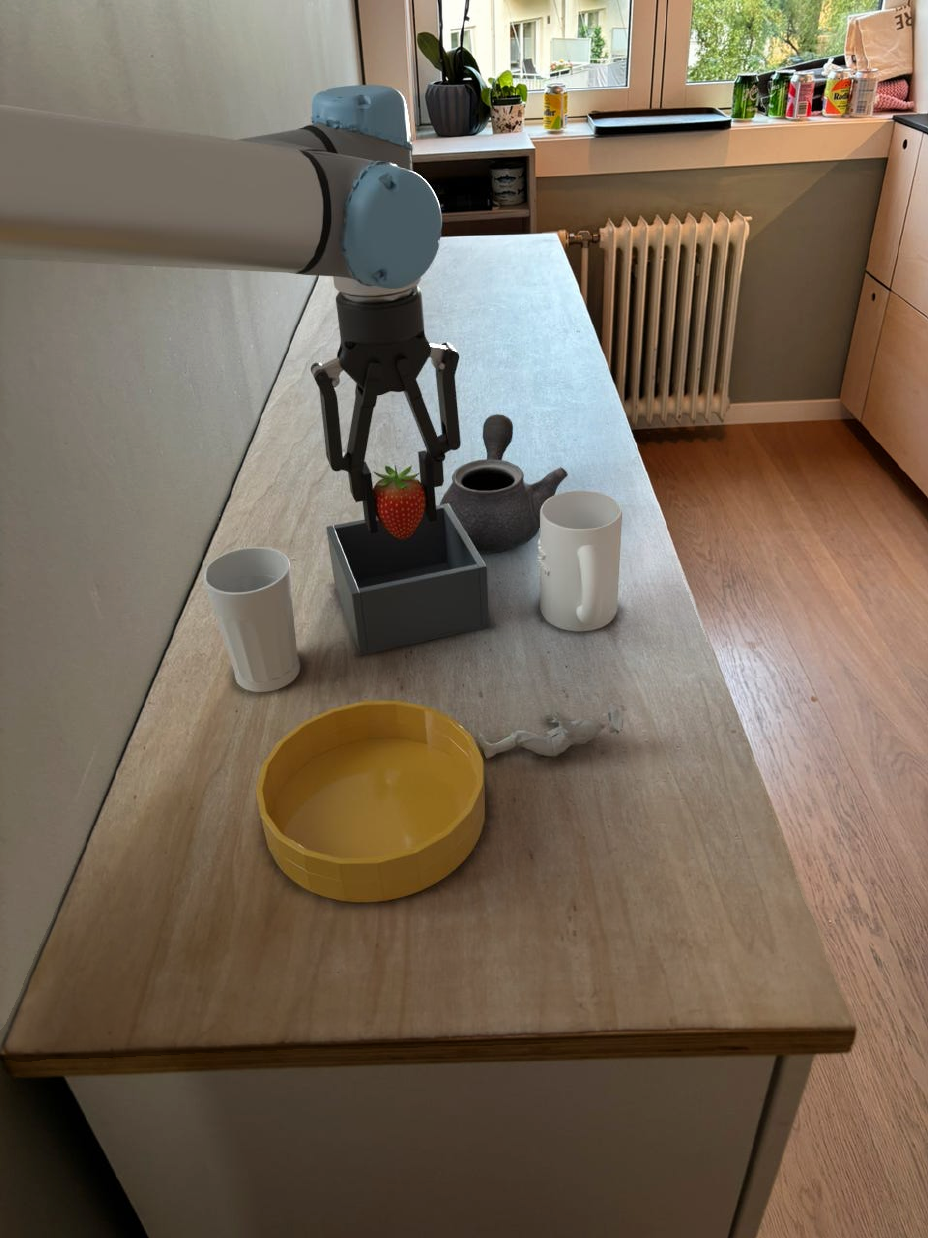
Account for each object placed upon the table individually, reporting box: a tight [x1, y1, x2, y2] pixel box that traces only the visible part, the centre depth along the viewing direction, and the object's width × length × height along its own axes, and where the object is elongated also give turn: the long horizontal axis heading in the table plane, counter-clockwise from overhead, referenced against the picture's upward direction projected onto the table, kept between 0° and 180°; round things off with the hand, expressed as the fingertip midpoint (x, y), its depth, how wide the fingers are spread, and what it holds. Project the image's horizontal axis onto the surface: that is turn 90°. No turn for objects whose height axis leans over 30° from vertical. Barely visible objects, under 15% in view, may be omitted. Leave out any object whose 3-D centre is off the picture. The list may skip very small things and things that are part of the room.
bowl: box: [255, 699, 486, 903], centre depth 80 cm, size 18×18×4 cm
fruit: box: [372, 465, 426, 539], centre depth 98 cm, size 5×5×8 cm
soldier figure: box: [477, 702, 624, 760], centre depth 85 cm, size 8×5×12 cm
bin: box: [325, 504, 490, 656], centre depth 103 cm, size 14×14×8 cm
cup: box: [201, 546, 301, 693], centre depth 93 cm, size 8×8×12 cm
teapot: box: [439, 413, 569, 553], centre depth 116 cm, size 19×15×10 cm
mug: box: [537, 489, 623, 632], centre depth 98 cm, size 8×12×12 cm
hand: (400, 519), depth 99 cm, fingers closed on fruit, 5 cm apart
